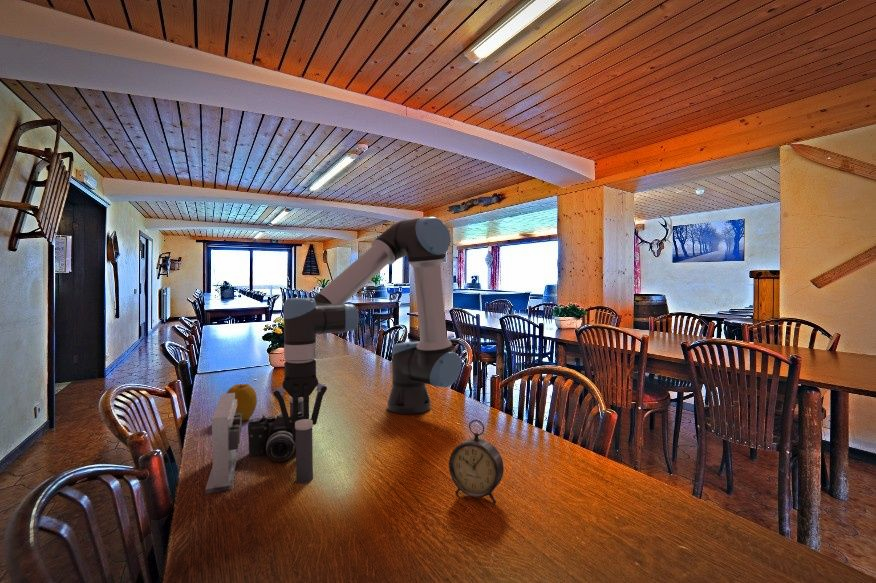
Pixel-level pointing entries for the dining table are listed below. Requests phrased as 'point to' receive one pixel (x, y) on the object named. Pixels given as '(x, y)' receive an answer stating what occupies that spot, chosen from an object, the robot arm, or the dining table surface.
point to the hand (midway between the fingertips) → (301, 453)
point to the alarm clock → (476, 466)
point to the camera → (271, 437)
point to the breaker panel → (224, 444)
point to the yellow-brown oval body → (244, 399)
